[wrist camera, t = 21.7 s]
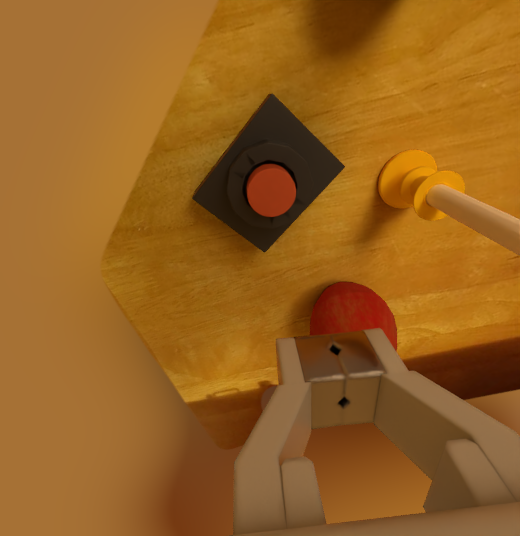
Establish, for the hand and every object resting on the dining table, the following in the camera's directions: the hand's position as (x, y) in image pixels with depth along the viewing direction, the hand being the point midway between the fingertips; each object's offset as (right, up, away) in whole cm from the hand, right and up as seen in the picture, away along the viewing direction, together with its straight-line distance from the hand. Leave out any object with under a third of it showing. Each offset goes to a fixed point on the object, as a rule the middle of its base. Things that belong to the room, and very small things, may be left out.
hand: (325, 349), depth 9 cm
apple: (+7, -1, +26) cm, 27 cm away
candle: (+11, +11, +20) cm, 25 cm away
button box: (-1, +10, +18) cm, 21 cm away
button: (-1, +9, +15) cm, 18 cm away
